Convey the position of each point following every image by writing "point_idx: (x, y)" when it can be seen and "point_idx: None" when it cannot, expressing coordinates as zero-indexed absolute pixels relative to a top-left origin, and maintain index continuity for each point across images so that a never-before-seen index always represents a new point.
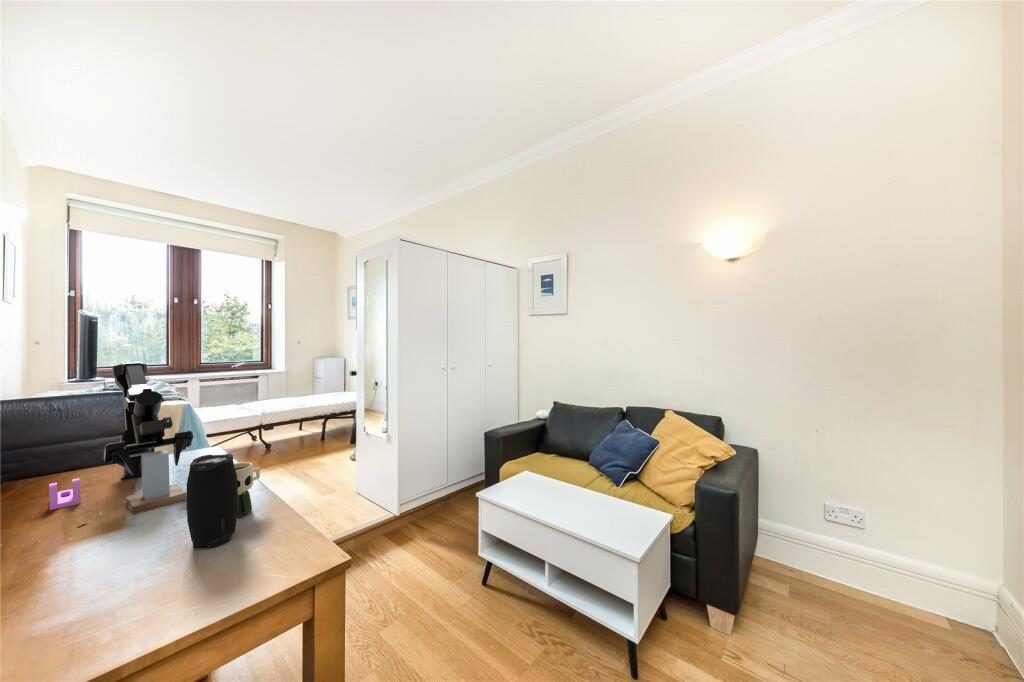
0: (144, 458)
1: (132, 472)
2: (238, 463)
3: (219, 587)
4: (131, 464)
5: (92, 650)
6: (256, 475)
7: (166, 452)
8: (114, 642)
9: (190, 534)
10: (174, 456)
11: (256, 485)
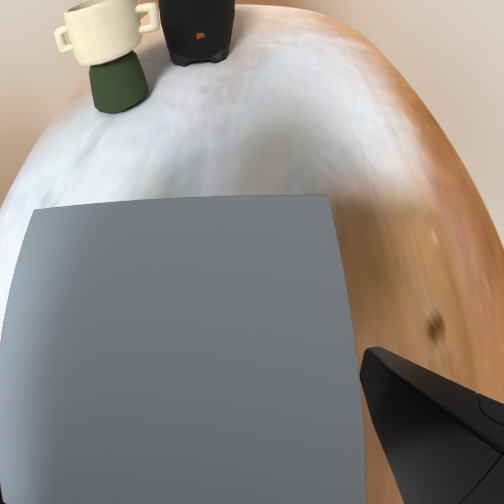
0: (327, 222)
1: (382, 351)
2: (74, 11)
3: (234, 15)
4: (429, 388)
5: (317, 17)
6: (65, 42)
7: (22, 278)
8: (305, 15)
9: (231, 33)
10: None
11: None
